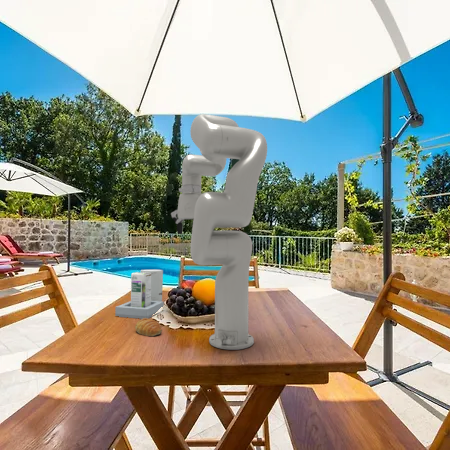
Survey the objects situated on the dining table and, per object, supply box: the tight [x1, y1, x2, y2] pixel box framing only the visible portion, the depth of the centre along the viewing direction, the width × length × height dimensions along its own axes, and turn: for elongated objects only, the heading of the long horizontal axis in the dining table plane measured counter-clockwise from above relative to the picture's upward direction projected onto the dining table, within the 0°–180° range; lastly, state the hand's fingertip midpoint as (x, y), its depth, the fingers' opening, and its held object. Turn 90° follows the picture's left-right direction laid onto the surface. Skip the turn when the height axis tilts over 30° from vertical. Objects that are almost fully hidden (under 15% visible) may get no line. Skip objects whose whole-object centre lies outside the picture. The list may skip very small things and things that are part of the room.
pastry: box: [134, 318, 163, 337], centre depth 99 cm, size 9×7×4 cm
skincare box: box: [140, 269, 164, 302], centre depth 136 cm, size 8×6×15 cm
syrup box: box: [130, 271, 151, 308], centre depth 121 cm, size 6×6×14 cm
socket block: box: [114, 300, 165, 320], centre depth 121 cm, size 13×13×4 cm
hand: (191, 233), depth 126 cm, fingers open, 9 cm apart
